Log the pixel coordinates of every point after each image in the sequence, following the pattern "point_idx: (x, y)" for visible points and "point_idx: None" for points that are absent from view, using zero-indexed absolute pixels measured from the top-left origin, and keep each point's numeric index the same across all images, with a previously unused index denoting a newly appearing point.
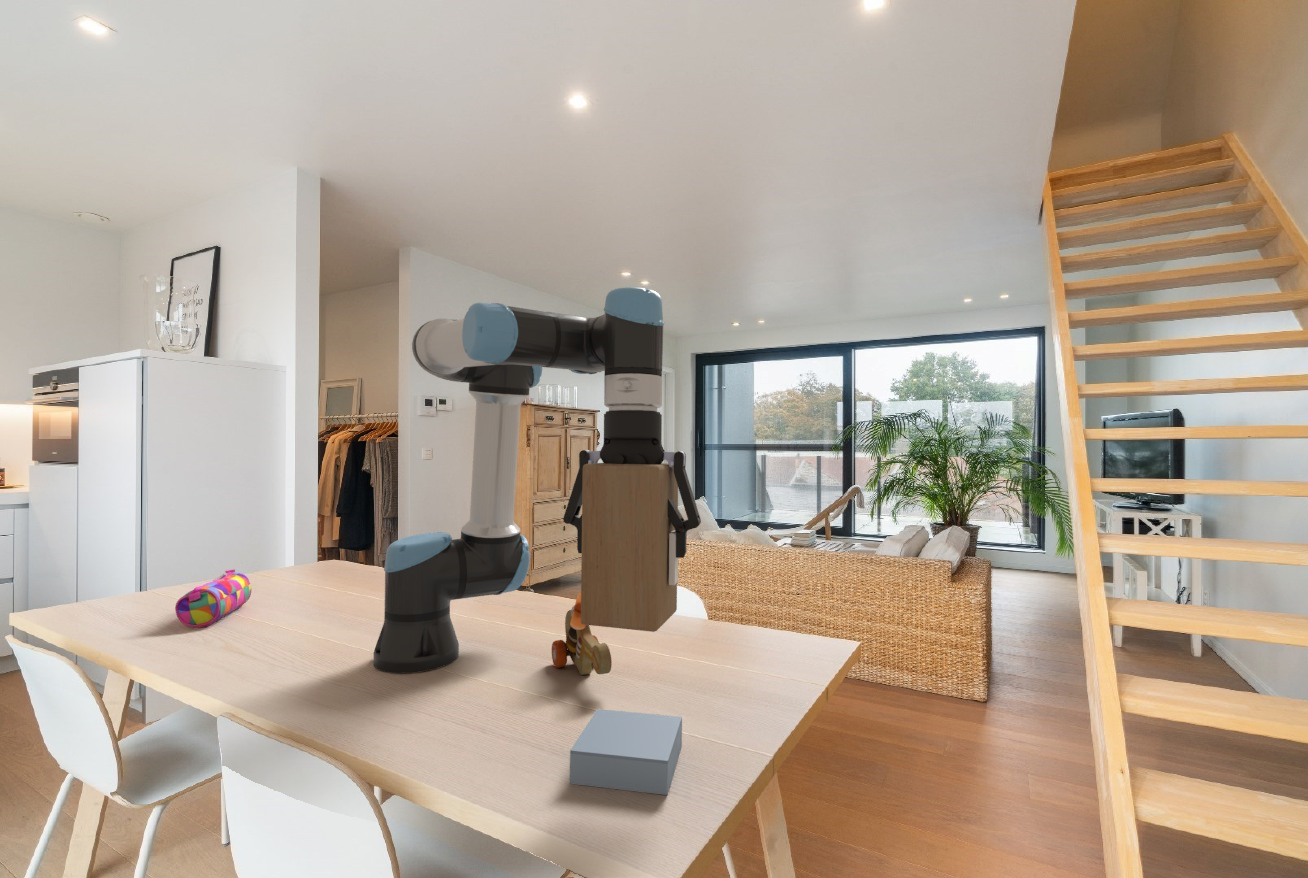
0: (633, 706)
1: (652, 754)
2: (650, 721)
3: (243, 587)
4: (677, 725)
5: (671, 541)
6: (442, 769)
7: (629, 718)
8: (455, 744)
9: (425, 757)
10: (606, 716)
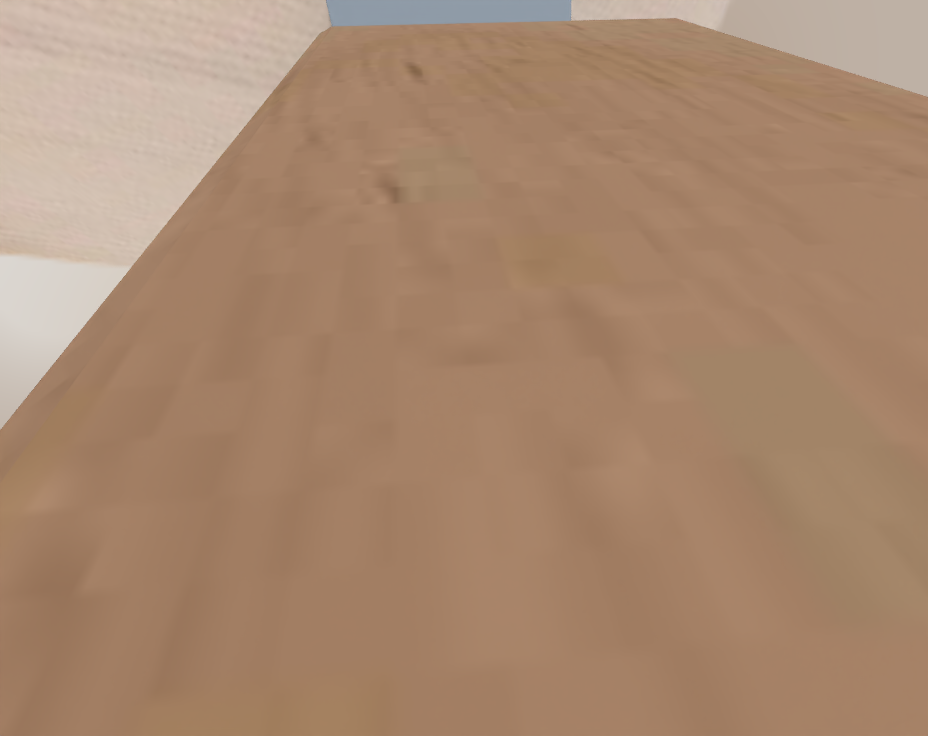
0: None
1: None
2: (492, 5)
3: None
4: (566, 4)
5: None
6: (136, 227)
7: (433, 8)
8: (55, 135)
9: (62, 203)
10: (368, 18)
